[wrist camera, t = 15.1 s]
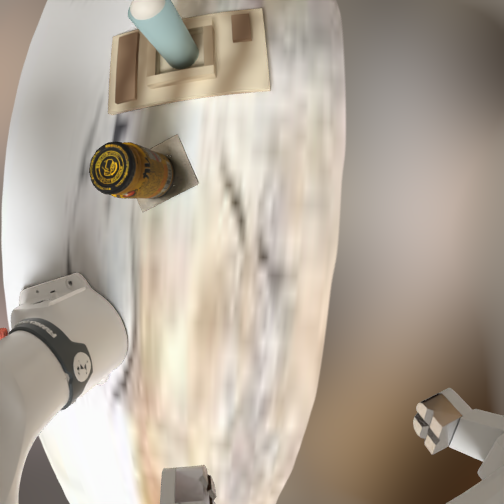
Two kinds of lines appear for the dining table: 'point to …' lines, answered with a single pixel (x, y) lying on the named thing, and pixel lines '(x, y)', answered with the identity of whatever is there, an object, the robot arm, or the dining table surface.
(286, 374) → the dining table surface
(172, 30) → the roll-on deodorant
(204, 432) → the dining table surface
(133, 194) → the condiment
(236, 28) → the jig
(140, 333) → the dining table surface
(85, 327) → the robot arm
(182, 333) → the dining table surface
